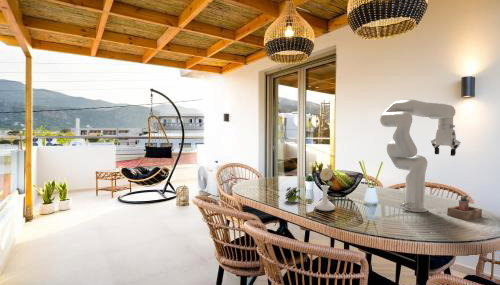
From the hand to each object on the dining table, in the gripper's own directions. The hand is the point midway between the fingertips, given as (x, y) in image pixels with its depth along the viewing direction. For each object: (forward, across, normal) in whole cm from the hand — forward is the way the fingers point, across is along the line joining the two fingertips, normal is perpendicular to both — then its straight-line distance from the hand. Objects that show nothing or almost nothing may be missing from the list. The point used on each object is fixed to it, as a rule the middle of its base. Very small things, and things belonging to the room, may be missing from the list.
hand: (444, 154), depth 173 cm
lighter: (+30, -21, +15) cm, 39 cm away
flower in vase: (+31, +17, +76) cm, 84 cm away
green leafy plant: (+31, +41, +83) cm, 98 cm away
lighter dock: (+30, -21, +15) cm, 40 cm away
